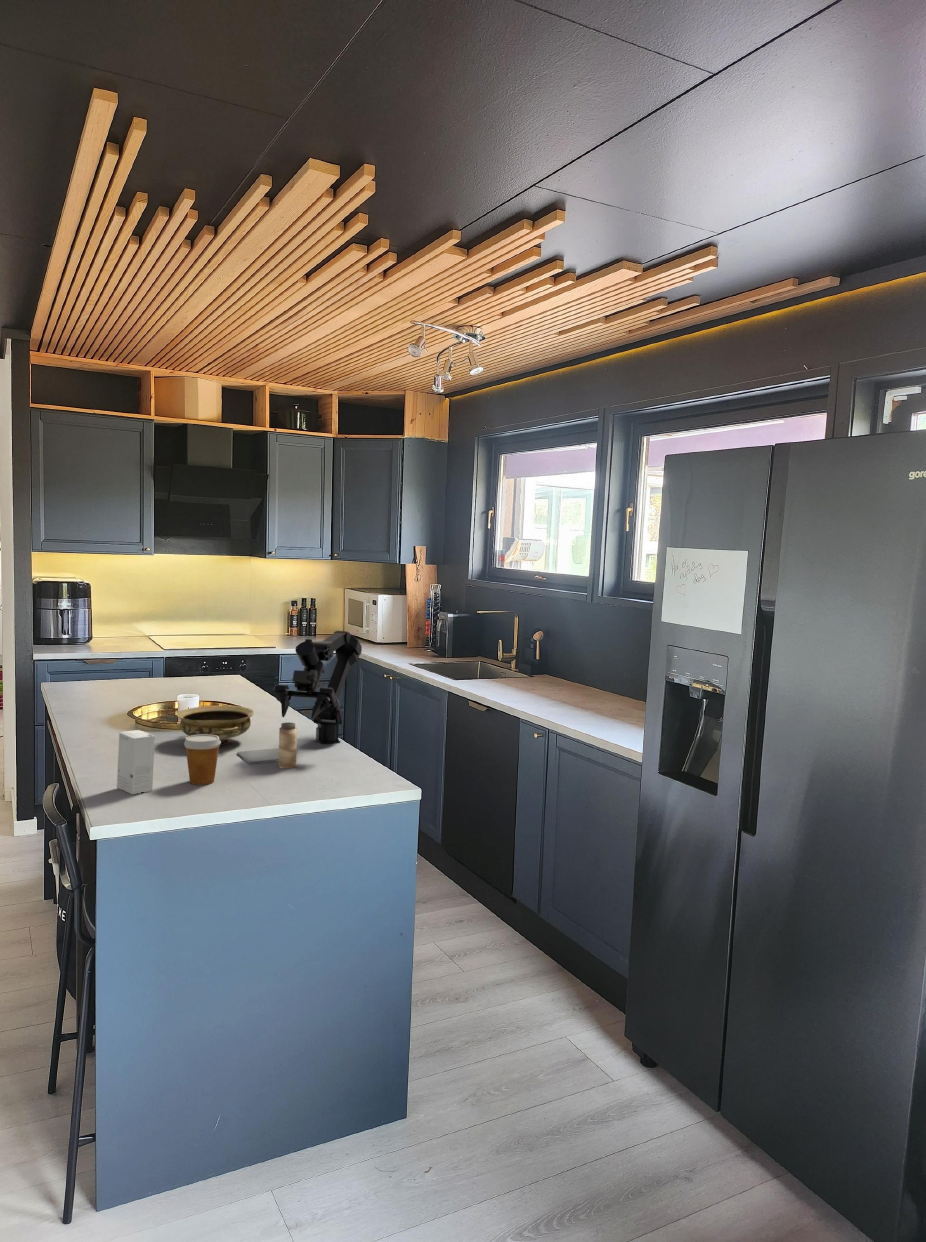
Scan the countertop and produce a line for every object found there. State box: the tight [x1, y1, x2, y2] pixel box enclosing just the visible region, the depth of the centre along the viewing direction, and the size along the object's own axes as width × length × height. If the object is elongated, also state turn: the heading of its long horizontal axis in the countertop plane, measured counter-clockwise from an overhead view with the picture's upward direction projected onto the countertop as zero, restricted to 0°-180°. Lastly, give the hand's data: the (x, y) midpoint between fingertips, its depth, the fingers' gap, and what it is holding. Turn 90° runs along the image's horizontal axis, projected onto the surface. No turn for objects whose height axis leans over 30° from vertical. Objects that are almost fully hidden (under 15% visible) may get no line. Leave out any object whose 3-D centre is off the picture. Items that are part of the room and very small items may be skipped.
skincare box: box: [116, 729, 156, 795], centre depth 215 cm, size 8×6×15 cm
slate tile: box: [236, 747, 279, 765], centre depth 254 cm, size 13×13×1 cm
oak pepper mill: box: [278, 722, 298, 769], centre depth 244 cm, size 5×5×12 cm
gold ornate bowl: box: [176, 705, 255, 746], centre depth 269 cm, size 30×24×10 cm
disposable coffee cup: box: [183, 734, 221, 786], centre depth 225 cm, size 10×10×12 cm
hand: (297, 717), depth 250 cm, fingers open, 9 cm apart
